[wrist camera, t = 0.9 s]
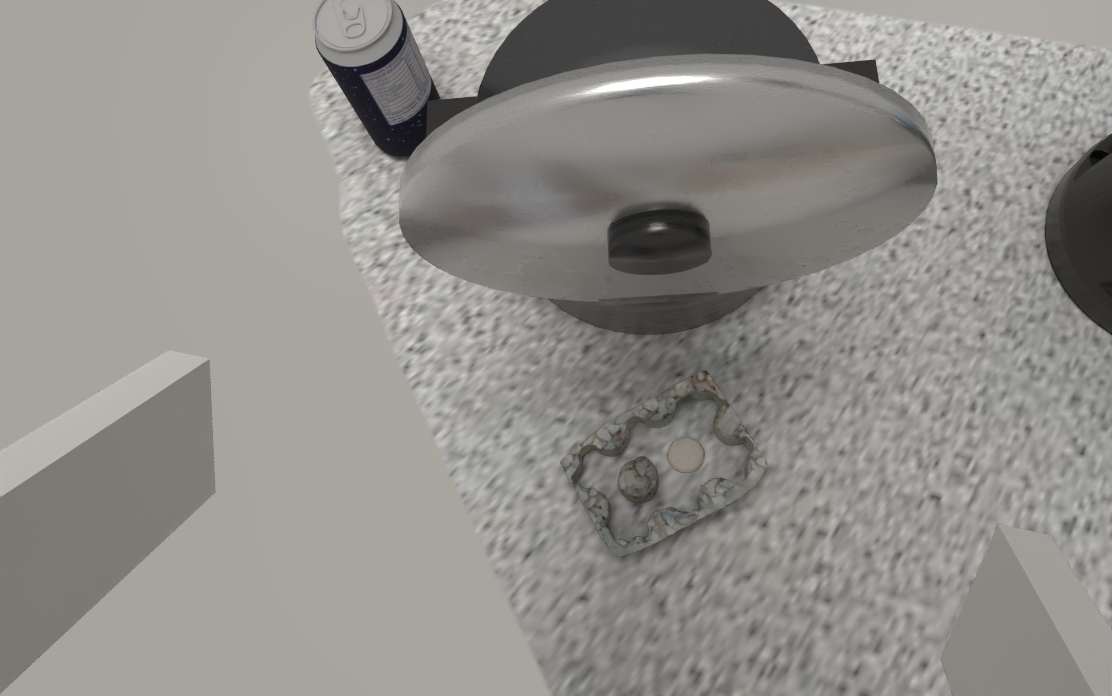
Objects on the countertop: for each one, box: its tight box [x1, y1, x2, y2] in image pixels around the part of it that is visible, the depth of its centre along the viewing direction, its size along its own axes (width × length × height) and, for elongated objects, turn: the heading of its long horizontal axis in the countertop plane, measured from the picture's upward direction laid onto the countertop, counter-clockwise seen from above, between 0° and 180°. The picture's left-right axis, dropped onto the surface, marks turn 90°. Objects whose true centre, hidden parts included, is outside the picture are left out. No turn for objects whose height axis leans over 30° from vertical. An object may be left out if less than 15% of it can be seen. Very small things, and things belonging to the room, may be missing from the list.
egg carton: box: [560, 371, 768, 557], centre depth 47 cm, size 11×8×4 cm
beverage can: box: [313, 0, 441, 156], centre depth 53 cm, size 6×6×12 cm
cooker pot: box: [426, 0, 879, 334], centre depth 50 cm, size 26×20×10 cm
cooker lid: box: [399, 54, 937, 306], centre depth 32 cm, size 20×20×2 cm
